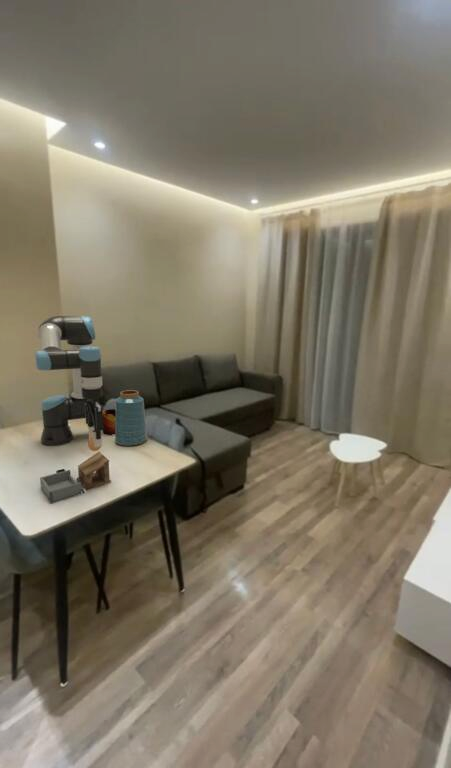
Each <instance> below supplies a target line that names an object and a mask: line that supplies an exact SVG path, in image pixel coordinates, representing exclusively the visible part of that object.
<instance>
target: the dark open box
mask: <svg viewBox="0 0 451 768" xmlns="http://www.w3.org/2000/svg"><path fill="white" fill-rule="evenodd" d="M63 471H66V469H65V468H62V469H58V470H56V471H55V474H56V473H59V472H63Z"/></svg>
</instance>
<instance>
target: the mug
mask: <svg viewBox="0 0 451 768" xmlns="http://www.w3.org/2000/svg"><path fill="white" fill-rule="evenodd" d="M102 412H103V430H102V434H103V435H105V434H106V435H105V436H113V435H112V434H115V420H116V419H115V417H116V408H113V409H111V408H110V409H103V411H102Z"/></svg>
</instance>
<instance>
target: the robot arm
mask: <svg viewBox="0 0 451 768" xmlns="http://www.w3.org/2000/svg"><path fill="white" fill-rule="evenodd" d="M37 334H38V335H37V336H38V337H39V339H40V346H41V347H40V349H41V350H38V351H36V352H35V364H36V368H37V370H39V371H47V372H48V371H56V370H57V371H58V370H59V371H60V370H72V381H73V384H72V385H73V391H72V393H71V394H70V397H67V395H65V394H58V395H52V396H49V397H47V398H44V399H43V400H42V401H41V412H42V425H43V428H42V433H41V437H40V443H41V444H42V445H45V446H51V447H52V446H60V445H64V444H68V443H70V442H72V440H73V439H74V433H73V432H72V429H71V427H70V425H69V421H73V420H81V419H82V420H84V419H85V424H86V425H87V428H88V430H87V431H88V442H89V441H90V440H91V439H93V438H94V447H99V446H101V447H102V446H103V440H102V431H103V412H102V411H104V409H103V405H101V403H100V398H102V397H103V396H104V392H103V390H104V389H103V387H102V386H103V374H102V355H101V349H100V347H98V346H92V345H93V341H95V340H96V332H95V327H94V323H93V320H92V317H90V316H84V315H54V316H52V317H49V318H46V319H45V320H44V321H43V322H41V323H40V325H39V326H38V331H37ZM61 341H67V346H69V347H70V349H62V343H61ZM73 441H74V440H73Z"/></svg>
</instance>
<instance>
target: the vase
mask: <svg viewBox="0 0 451 768" xmlns="http://www.w3.org/2000/svg"><path fill="white" fill-rule="evenodd" d="M119 395H120V396H119V397H118V398H116V399H115V409H116V417H115V419H116V420H115V435H114V441H115V443H116V444H118V445H120V446H123V445H124V446H125V447H133V446H132V445H135V446H138V444H139V445H141V444H143V443H145V442H146V441H147V440H148V435H147V423H146V413H145V402H144V400H145V399H144V398H143V397H141V395H140V394H139V391H138V390H135V389H127V390H122V391H120V393H119ZM124 446H123V447H124Z"/></svg>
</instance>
